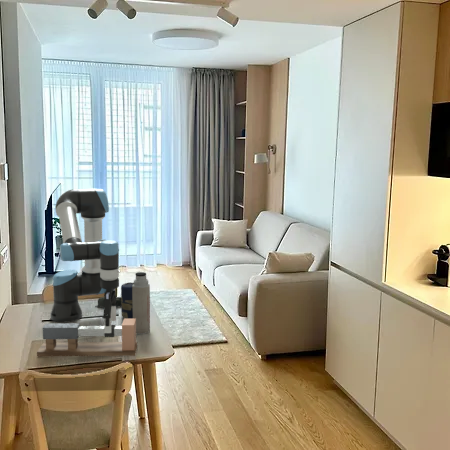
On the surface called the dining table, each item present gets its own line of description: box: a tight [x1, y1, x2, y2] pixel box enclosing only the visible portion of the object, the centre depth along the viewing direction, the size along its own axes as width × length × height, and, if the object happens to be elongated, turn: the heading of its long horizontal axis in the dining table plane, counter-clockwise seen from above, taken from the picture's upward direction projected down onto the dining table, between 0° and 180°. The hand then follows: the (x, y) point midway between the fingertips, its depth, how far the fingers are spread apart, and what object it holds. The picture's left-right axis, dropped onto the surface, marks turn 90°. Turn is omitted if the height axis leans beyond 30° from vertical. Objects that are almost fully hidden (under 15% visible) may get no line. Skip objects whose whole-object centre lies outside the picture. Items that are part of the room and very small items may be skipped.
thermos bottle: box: [132, 271, 151, 335], centre depth 239 cm, size 8×8×28 cm
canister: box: [120, 282, 134, 319], centre depth 258 cm, size 10×10×18 cm
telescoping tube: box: [77, 324, 122, 338], centre depth 216 cm, size 4×30×4 cm, turn 94°
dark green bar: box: [94, 296, 121, 308], centre depth 275 cm, size 5×3×15 cm
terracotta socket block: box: [121, 318, 137, 350], centre depth 217 cm, size 8×5×11 cm, turn 4°
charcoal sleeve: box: [42, 322, 81, 340], centre depth 215 cm, size 5×14×5 cm, turn 94°
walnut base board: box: [36, 338, 139, 358], centre depth 216 cm, size 10×40×6 cm, turn 94°
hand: (110, 326), depth 216 cm, fingers open, 13 cm apart
